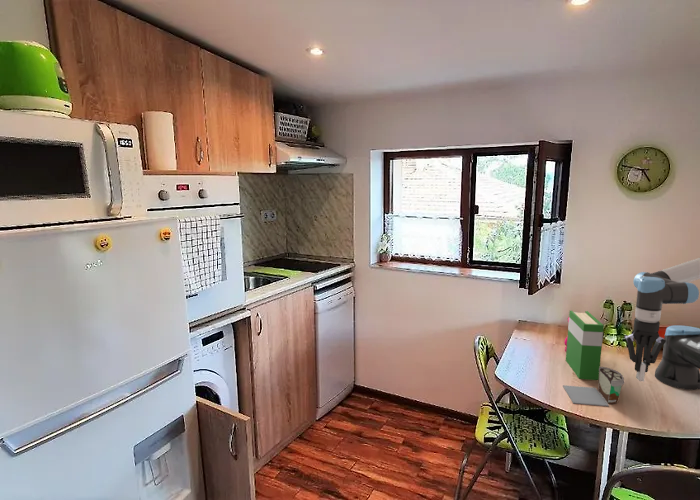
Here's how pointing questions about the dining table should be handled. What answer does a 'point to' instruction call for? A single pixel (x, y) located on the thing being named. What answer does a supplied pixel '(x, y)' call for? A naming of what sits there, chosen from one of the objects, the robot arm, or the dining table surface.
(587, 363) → the hardback book
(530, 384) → the dining table surface
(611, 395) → the food container
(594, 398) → the mat
